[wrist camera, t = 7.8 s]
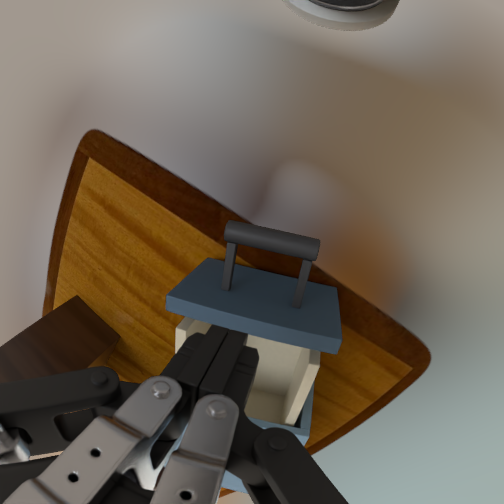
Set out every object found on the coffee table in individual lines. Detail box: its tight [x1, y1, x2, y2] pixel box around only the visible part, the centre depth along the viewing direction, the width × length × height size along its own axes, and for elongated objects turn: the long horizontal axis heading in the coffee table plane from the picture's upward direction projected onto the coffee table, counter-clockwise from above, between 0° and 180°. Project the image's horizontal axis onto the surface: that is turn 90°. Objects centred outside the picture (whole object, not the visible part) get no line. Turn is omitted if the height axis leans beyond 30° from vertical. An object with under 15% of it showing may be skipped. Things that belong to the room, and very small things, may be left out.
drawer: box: [166, 220, 342, 427], centre depth 22 cm, size 18×11×8 cm, turn 170°
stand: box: [0, 295, 120, 383], centre depth 24 cm, size 8×8×20 cm
